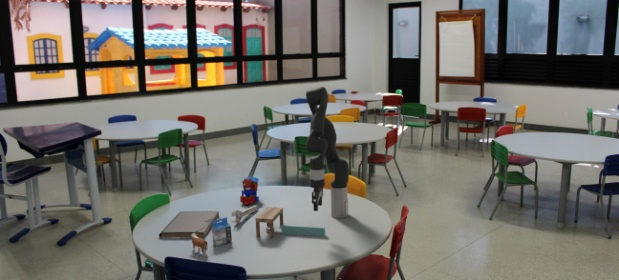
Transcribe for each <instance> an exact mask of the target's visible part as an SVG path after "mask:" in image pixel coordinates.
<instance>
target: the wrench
mask: <svg viewBox="0 0 619 280" xmlns="http://www.w3.org/2000/svg"><path fill="white" fill-rule="evenodd" d="M258 210H259V205H253V206H251V207H248V208H246V209H244V210H241V211H240V210H239V209H233V211H232V212H231V217H235V218H234V219H233V222H232V223H234V224H240V223H241V220H242V218H243V217H245V216H248V215H250V214H252V213H254V212H258Z"/></svg>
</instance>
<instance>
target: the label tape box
mask: <svg viewBox="0 0 619 280" xmlns="http://www.w3.org/2000/svg"><path fill="white" fill-rule="evenodd" d="M211 234H212V244H213V246H215V247H219V246H222V245H226V244H229V243H232V242H233V241H232V240H233V239H232V227H231V225H230V223H229V222H228V217H222V218H219V219H218V218H217V219H216V220H214V221H212V228H211Z"/></svg>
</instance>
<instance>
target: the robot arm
mask: <svg viewBox="0 0 619 280" xmlns="http://www.w3.org/2000/svg"><path fill="white" fill-rule="evenodd" d="M305 98H306V101H307V105H308V107H309V110H310V112H311V115H312V117H311V120H310V127H309V129H310V130H309V135H308V138H307V140H306V143H305V150H306V151H307V152H308V153H315V154H316V153H319V154H318V155H316V156H312V157H310V159H309V187H310V188H313V190H312V192H311V204H313V211H314V212H318V211H319V206H323V196H324V188H325V186H326V177H325V175H326V174H325V173H326V172H325V161H326V166H327V169H328V171H329V172H330V173H332V174H334V179H333V180H331V181H330V211H331V212H330V213H331V214H330V215H331V217H332V218H336V219H343V218H347V217H348V215H349V198H348V183H349V178H350V176H349V174H350V173H349V172H350V167H349V163H348V161H347V160H346V159H343V158H340V157H339V154H338V152H337V149H336V147H337V145H336V144H337V139H338V138H337V132H336V129H335V126H334V124H333V122H332V121H331V120H329V118H327V117H326V112H327V109H328V102H329V93H328V91H327V88H326V87H324V86H319V87H315V88H311V89H307V90H306V92H305Z"/></svg>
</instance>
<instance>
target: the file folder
mask: <svg viewBox="0 0 619 280" xmlns="http://www.w3.org/2000/svg"><path fill="white" fill-rule="evenodd" d="M219 211H220V210H192V211H191V210H187V211H186V210H183V211H179V213H177V214H176V216H175V217H174V218H173V219H172V220H171V221H170V222H169V223H168V224H167V225H166V226H165V227H164V228H163V230H162V231H161V232H160V233H158V237H159V238H160V237H161V238H162V237H189V235H192V234H193V233H195V234H196V235H197V234H198V236H197V237H199V238H201V239H203V238H205V237H204V236H206V235H207V234H208V233H209V231H210V230H209V229H212V221H214V220H218V218H219V217H220V212H219ZM191 237H192V236H191Z"/></svg>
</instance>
